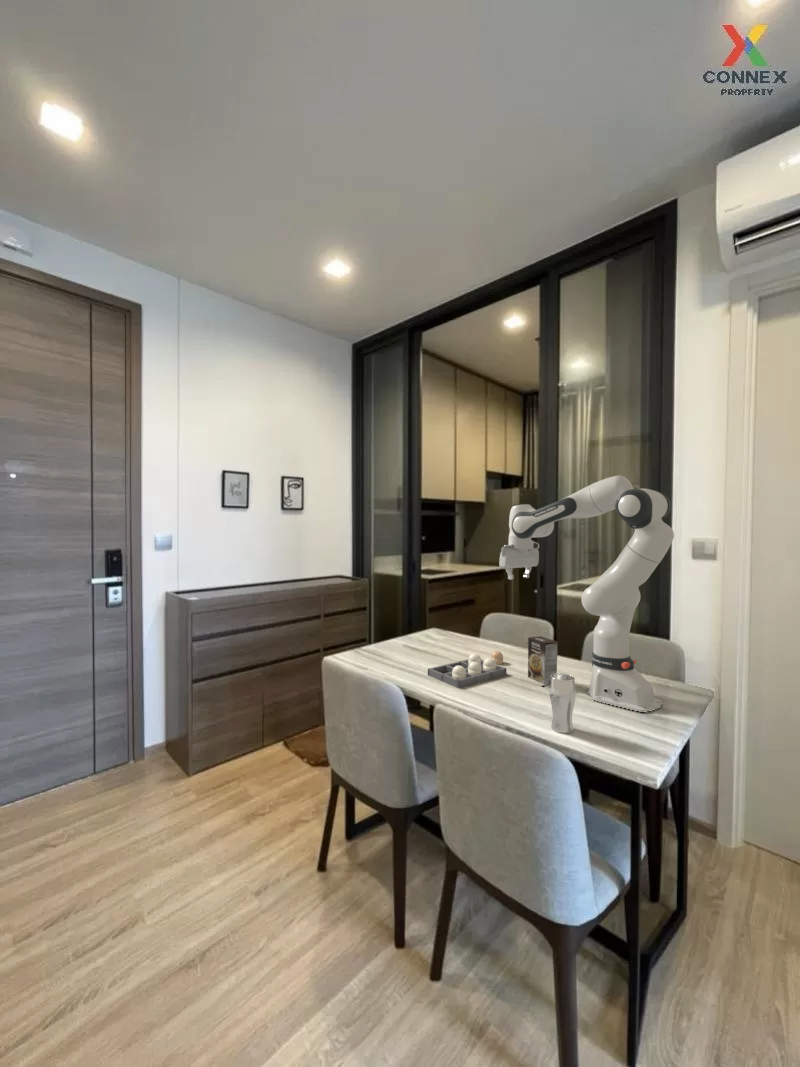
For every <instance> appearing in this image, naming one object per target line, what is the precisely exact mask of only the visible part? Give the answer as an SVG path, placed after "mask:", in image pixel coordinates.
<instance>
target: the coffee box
mask: <svg viewBox="0 0 800 1067" xmlns="http://www.w3.org/2000/svg"><path fill="white" fill-rule="evenodd" d="M527 638H528V639H527V646H528V647H527V668H528V669H527V678H529V679H531V680H532V681H535V682H538V684H539V683H540V684H542V687H543V686H544V687H543V688H546V687H545V686H547V687H550V679H551V675H552V674H555V673H558V641H556V640H554V639H550V638H549V637H548V638H547V637H545V636H529V637H527Z"/></svg>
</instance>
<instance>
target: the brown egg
mask: <svg viewBox="0 0 800 1067" xmlns="http://www.w3.org/2000/svg"><path fill="white" fill-rule="evenodd" d="M490 658H492V659H493V660H494V661H495V662H496V665H498V666H502V665H504V654H503V653H502V652H501V651H500V650H494V651H492V652H491V655H490Z"/></svg>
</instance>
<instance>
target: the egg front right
mask: <svg viewBox="0 0 800 1067" xmlns="http://www.w3.org/2000/svg"><path fill="white" fill-rule="evenodd" d="M483 661H484V662H483V669H485V670H487V671H493V670H496V662H495V661H494V660H493V659H492V658H491V657H488V658H487V657H486V658H485V659H484V660H483Z"/></svg>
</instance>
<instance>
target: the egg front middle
mask: <svg viewBox="0 0 800 1067" xmlns="http://www.w3.org/2000/svg"><path fill="white" fill-rule="evenodd" d="M468 673H469V674H472V675H478V674H481V665H480V664H479V663H478V662H471V663H470V664H469V666H468Z"/></svg>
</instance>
